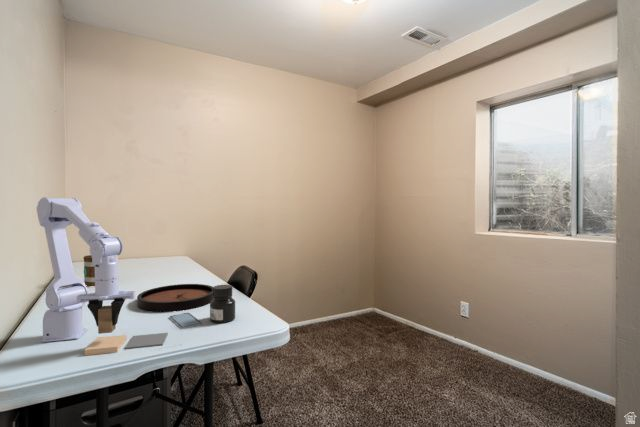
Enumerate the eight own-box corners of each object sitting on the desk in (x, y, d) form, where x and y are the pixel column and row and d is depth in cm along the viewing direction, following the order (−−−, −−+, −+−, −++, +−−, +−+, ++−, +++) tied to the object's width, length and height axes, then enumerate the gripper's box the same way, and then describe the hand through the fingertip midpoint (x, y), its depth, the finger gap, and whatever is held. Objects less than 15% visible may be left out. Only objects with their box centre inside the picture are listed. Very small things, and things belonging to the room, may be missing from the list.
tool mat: (124, 349, 95) (124, 347, 95) (133, 337, 104) (133, 335, 104) (162, 345, 98) (162, 343, 98) (167, 333, 106) (167, 332, 106)
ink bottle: (206, 318, 121) (206, 285, 121) (229, 313, 127) (229, 282, 127) (215, 325, 114) (215, 291, 113) (239, 320, 119) (239, 287, 119)
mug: (117, 283, 174) (117, 255, 174) (86, 288, 165) (86, 258, 164) (107, 278, 188) (107, 252, 188) (78, 282, 178) (78, 254, 178)
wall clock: (145, 286, 154) (215, 281, 164) (145, 295, 154) (215, 290, 164) (128, 305, 124) (215, 298, 134) (128, 316, 124) (215, 308, 134)
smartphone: (181, 328, 110) (168, 316, 122) (181, 330, 111) (168, 318, 122) (203, 323, 115) (188, 312, 127) (203, 325, 115) (188, 314, 127)
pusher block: (102, 329, 98) (102, 306, 98) (115, 328, 99) (115, 305, 99) (98, 333, 95) (97, 309, 94) (111, 332, 95) (111, 308, 95)
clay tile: (97, 344, 100) (84, 357, 91) (96, 337, 100) (84, 349, 91) (126, 341, 102) (117, 353, 93) (126, 334, 102) (117, 346, 93)
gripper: (71, 283, 91) (72, 332, 91) (130, 280, 95) (131, 326, 95) (82, 277, 97) (82, 323, 98) (136, 275, 101) (137, 318, 102)
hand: (107, 324), depth 97 cm, fingers closed on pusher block, 3 cm apart
